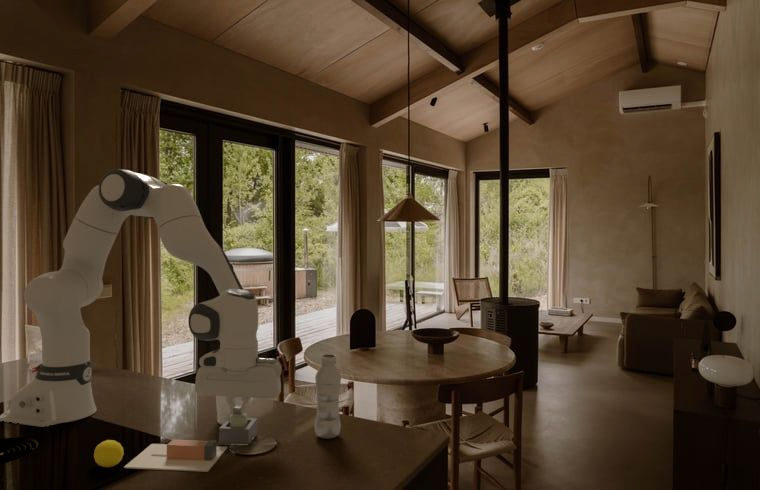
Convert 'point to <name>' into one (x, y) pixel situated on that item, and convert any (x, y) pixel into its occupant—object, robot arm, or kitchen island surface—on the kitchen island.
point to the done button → (238, 420)
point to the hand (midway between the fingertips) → (238, 414)
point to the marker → (191, 449)
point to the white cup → (225, 408)
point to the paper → (170, 460)
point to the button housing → (237, 433)
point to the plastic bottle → (327, 398)
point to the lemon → (108, 453)
